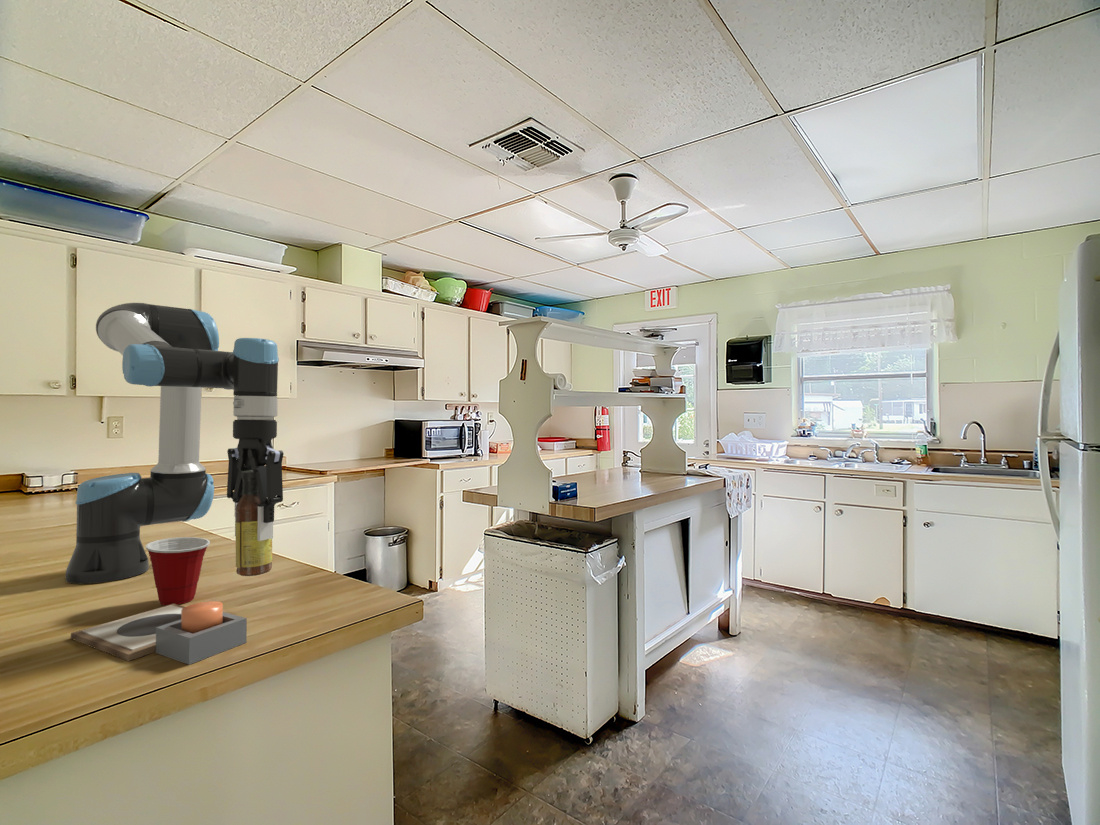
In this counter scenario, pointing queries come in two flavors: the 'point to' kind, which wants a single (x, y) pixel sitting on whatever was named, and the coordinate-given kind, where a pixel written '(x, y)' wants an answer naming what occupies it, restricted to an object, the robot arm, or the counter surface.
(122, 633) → the board
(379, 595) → the counter surface
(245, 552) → the sauce bottle
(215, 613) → the button
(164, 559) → the plastic cup
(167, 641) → the button housing
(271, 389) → the robot arm
